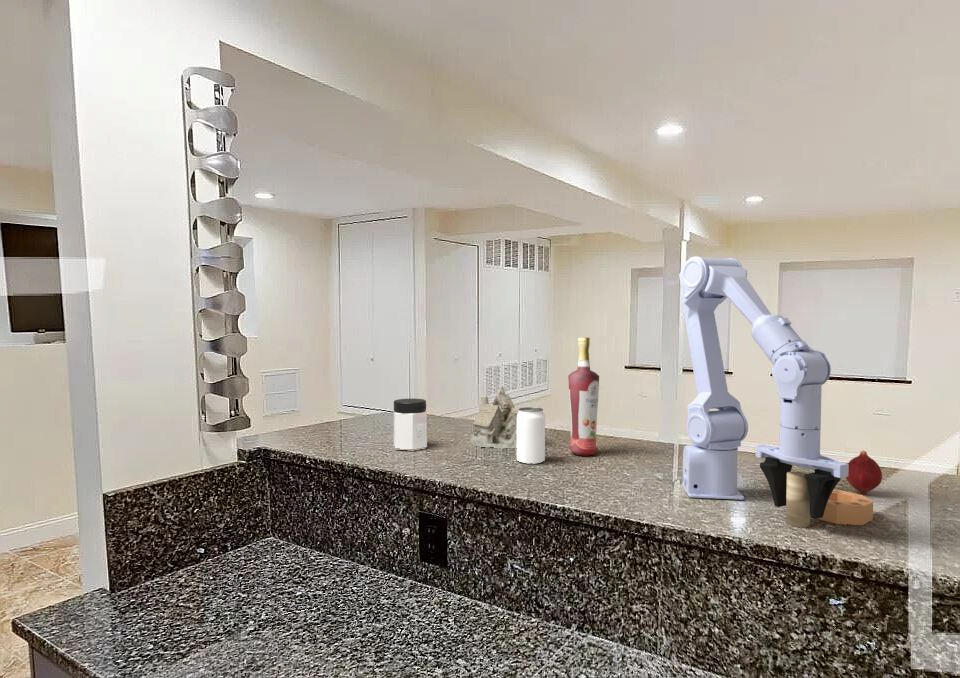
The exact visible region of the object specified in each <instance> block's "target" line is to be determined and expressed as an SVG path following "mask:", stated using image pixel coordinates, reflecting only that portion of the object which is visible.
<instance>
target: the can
mask: <svg viewBox="0 0 960 678" xmlns="http://www.w3.org/2000/svg"><path fill="white" fill-rule="evenodd" d="M518 408H519V412H518V414H517V449H516V461H517V462H518V461H519V462H522V463H541V462H543V461H544V462H545V461H546V456H545V455H546V416H545V413H544V409H543V408H541V407H534V406H529V407H528V406H527V407H518ZM519 462H518V463H519ZM544 462H543V463H544ZM522 463H521V464H522ZM541 464H542V463H541Z"/></svg>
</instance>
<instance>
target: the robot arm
mask: <svg viewBox="0 0 960 678" xmlns="http://www.w3.org/2000/svg"><path fill="white" fill-rule="evenodd" d="M678 274H679V275H678V276H679V284H680V289H681V295H682V310H683V316H684V322H685V323H684V324H685V327H686V334H687V341H688V346H689V351H690V359H691V364H692V370H693V371H692V372H693V377H694V384H695V390H696V395H697V396H695V398H694V399H693V400H692V401H691V402H690V403H689V404H688V405H687V406H686V409H687V410H686V411H687V421H686V431H687V435H688V437H689V439H690V440H691V442H692V445H691V444H689V445H685V446H684V447H683V452H682V483H681V486H682V487H683V489H684V491H685V493H686V494H687V495H688V497H689V498H696V499H697V498H698V499H699V498H700V499H719V500H720V499H721V500H745V497H744V495H743V494H742V493H741V492H740V491H739V490H738V464H739V463H738V460H739V457H738V456H739V455H738V453H739V450H738V448H739V447H741V446H742V443H741V442H742V441H744V440H745V439H746V437H747V435H748V432H749V424H748V420H747V418H746V416H745V414H744V412H743V410H742V408H741V407H742V406H741V402H740V401H739V400H738V399H737V398H736V397H734V396H733V395H732V394H731V393H730V392H729V389H728V384H727V379H726V373H725V367H724V361H723V356H722V349H721V344H720V339H719V332H718V327H717V322H716V316H715V315H716V314H715V311H716V309H717V307H718V306H720V305H721V304H722V303H723V302H725V301H726V299H728V300H729V301H730V302H731V303H732V305H733V306H734V307H735V308H736V309H737V310H738V311H739V312H740V313H741V315H743V317H744V318H745V319H746V320H747V321H748V322H749V323H750V325H751V326H752V328H751V337H752V339H753V340H754V342H755V343H756V344H757V345H758V347H759V348H760V349H761V351H762V352H763V354H764V355H765V356H766V357H767V358H768V360H769V361H770V362H771V364H772V365H773V367H772V368H771V376H772V378H773V380H774V381H775V383H776V385H777V394H778V397H779V398H780V399H779V437H778V438H779V441H778V446H771V445H766V444H759V445H755V457H756V458H758V459H765V460H764V461H762V462H760V463H759V468H760V470H761V471H762V473H763V475H764V477H765V479H766V481H767V484H768V485H769V486H768V487H769V490H770V492H771V496H772V500H773V504H774V507H776V508H782V507H786V491H787V472H792V469H793V466H796V467H798V468H804V469H808V470H811V471H814V472H809V473H807V474H805V478H806V481H807V484H808V489H809V496H810V519H813V520H819V519H818V518H822V517H823V515H824V511H825V508H826V505H827V502H828V500H829V497H830V495H831V493H832V491H833V490H835V489H836V487H837V485H838V484H839V482H840V481H841V480H842V478H846V477H848V471H849V464H848V462H842V461H839V460H836V459H833V458H829V457H828V456H825V455H821V428H822V427H821V425H822V386H823V385H824V384H826V383H827V382H828V380H829V379H830V377H831V370H832V368H831V367H832V366H831V363H830V361H829V359H828V358H827V356H826V354H825V353H824V352H823V351H821V350H818V349H813V348H811V347H810V346H809V344H808V343H807V342H806V341H804V340H803V339H802V338H801V337H800V336H799V334H798V333H797V332H796V330H795V329H794V328H793V327H792V326H791V324H792V322H791V320H789V319H790V318H788V317H783V316H782V315H779V314H772V313H771V312H770V310H769V309H768V308H767V306H766V305H765V303H764V302H763V300H762V299H761V297H760V296H759V294H758V293H757V291H756V290H755V288H754V287H753V285H752V284H751V282H750V281H749V279H748V270H747V269H746V268H745V267H743V266H742V263H741V261H739V260H738V259H736V258H734V257H728V258H723V257H722V258H719V257H718V258H717V257H716V258H715V257H701V256H697V255H695V256H692V257H690V258H688V259H687V260H686V262H685V263H684V265H683V267H682V269H681V271H680V273H678ZM711 409H714V410H711ZM715 409H717V410H715Z"/></svg>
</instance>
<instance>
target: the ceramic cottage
mask: <svg viewBox="0 0 960 678" xmlns="http://www.w3.org/2000/svg"><path fill="white" fill-rule="evenodd" d="M496 394H497V395H495V397H494V399H493V401H492V402H493V403H492V404H489V396H488V395H481V396H480V403H479V406H478V413H477V415H476V416H475V419H474V422H472V425H473V426H474V429H473V430H472V431H473V434H471V435H470V439H469V443H471V444H473V445H476V446H481V447H494V448H493V449H497V448H498V449H499V448H508V449H509V448H517V414H518V412H519V408H520V407H515V404H514V403H513V401H512V398H511V396H510V395H509V394H506V392H505V388H504V386H503V385H498V390H496Z"/></svg>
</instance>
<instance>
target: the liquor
mask: <svg viewBox="0 0 960 678" xmlns="http://www.w3.org/2000/svg"><path fill="white" fill-rule="evenodd" d="M577 341H578V342H577V343H578V345H577V346H578V350H579V351H578V363H577V369H576V370H574V371H572V372H571V373H570V374H568V377H567V378H568V399H569V419H570V420H569V421H570V423H569V424H570V426H569V427H570V445H569V446H568V449H569V450H570V451H571V453H572V454H573V455H575V454H576V455H575V456H578V455H580V456H579V457H591V456H594V454H595V453H596V452H597V451H598V450H599V448H598V447H597V426H598V425H597V424H598V408H599V407H598V406H599V394H600V393H599V390H600V389H599V388H600V375H599V374H597V372H595V371H593V370H592V369H591V364H590V362H591V360H590V351H589V350H590V346H591V345H590V344H591V343H590V337H578V338H577ZM590 455H591V456H590Z"/></svg>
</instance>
